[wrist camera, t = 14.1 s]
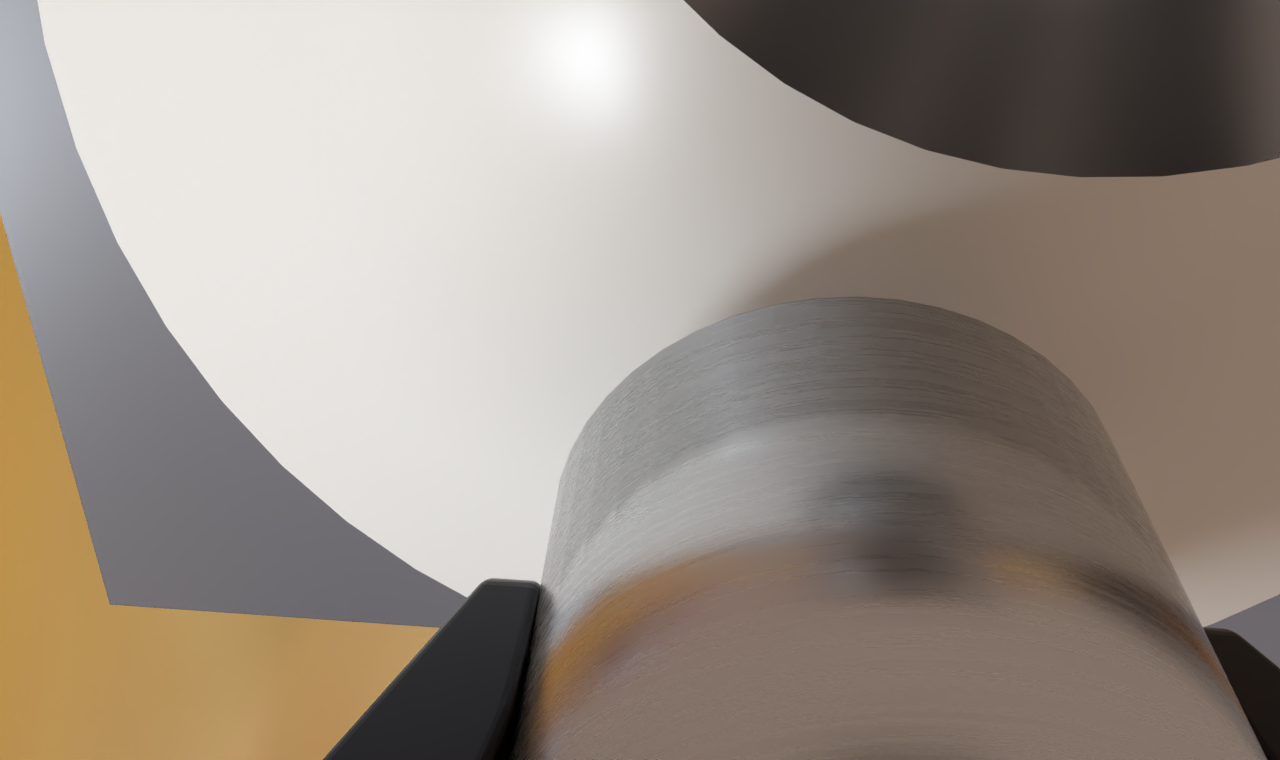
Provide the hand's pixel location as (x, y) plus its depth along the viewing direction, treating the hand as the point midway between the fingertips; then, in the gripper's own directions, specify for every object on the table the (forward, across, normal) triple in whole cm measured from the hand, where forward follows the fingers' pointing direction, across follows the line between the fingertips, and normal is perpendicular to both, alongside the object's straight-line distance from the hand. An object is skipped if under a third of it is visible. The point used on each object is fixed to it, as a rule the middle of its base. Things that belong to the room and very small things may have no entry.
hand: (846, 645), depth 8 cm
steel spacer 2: (+1, 0, 0) cm, 1 cm away
